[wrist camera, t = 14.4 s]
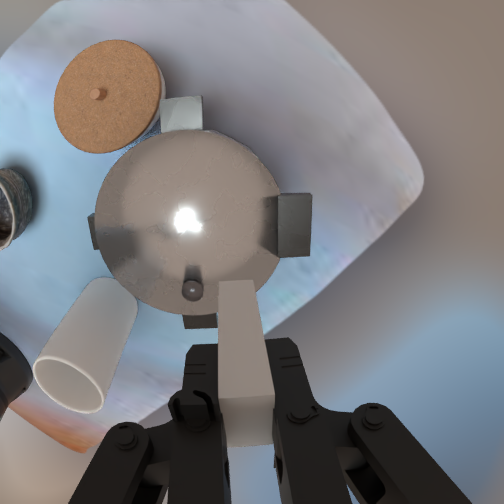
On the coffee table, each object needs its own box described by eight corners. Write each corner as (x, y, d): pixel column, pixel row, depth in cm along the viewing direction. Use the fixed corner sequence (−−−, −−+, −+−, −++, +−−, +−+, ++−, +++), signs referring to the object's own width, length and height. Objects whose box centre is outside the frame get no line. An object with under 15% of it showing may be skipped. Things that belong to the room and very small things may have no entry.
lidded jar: (117, 165, 31) (82, 181, 23) (71, 97, 27) (27, 93, 19) (194, 108, 30) (180, 101, 21) (144, 38, 26) (116, 12, 17)
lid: (118, 310, 27) (113, 320, 25) (88, 143, 21) (79, 144, 19) (303, 302, 28) (307, 312, 26) (308, 126, 22) (314, 126, 20)
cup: (133, 278, 37) (90, 364, 22) (142, 329, 40) (113, 419, 26) (78, 276, 36) (21, 351, 22) (90, 325, 40) (49, 405, 25)
